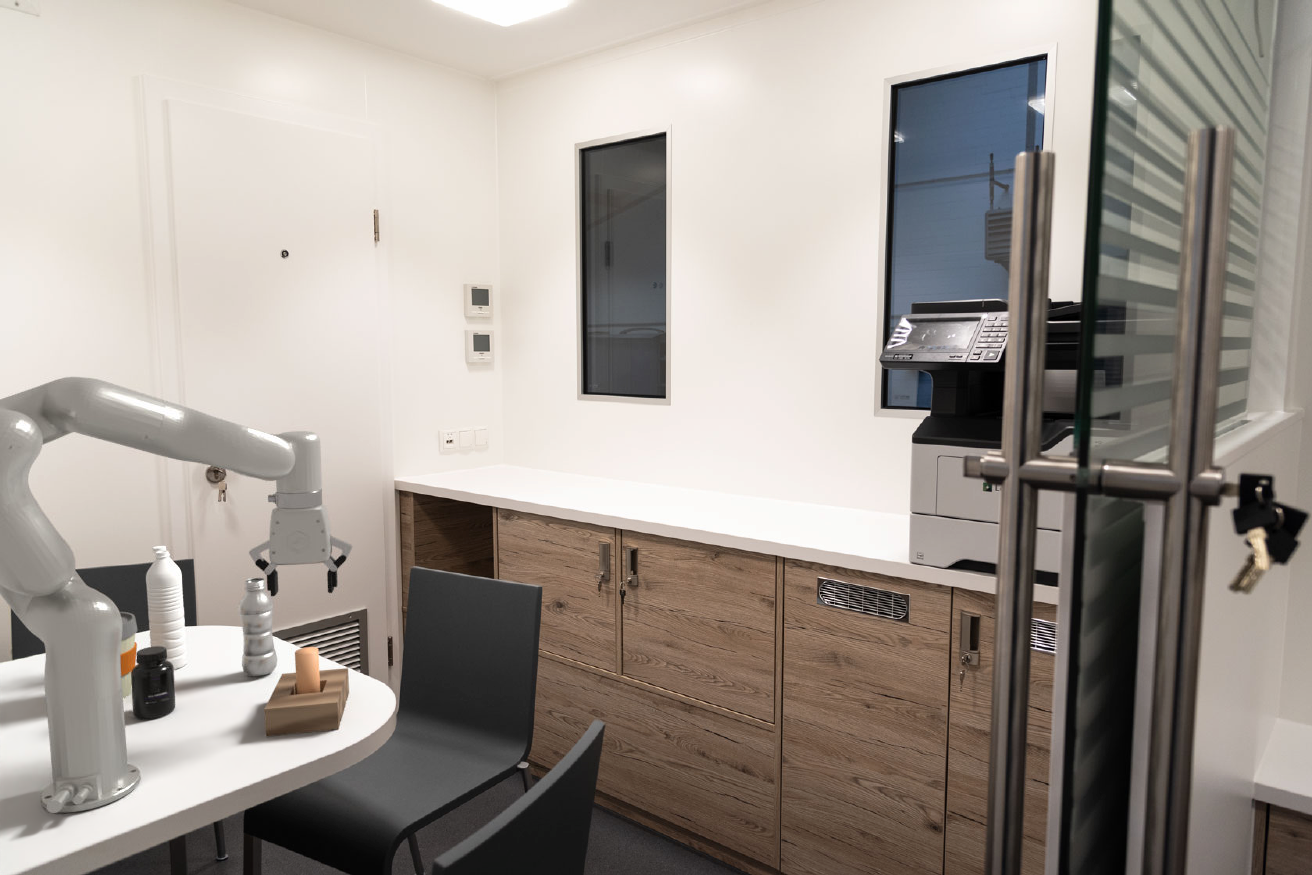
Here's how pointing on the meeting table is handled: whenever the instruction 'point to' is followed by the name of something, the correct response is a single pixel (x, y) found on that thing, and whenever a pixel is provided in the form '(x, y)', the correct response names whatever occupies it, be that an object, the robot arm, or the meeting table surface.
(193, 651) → the meeting table surface
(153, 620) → the water bottle
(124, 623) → the reusable coffee cup
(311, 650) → the peg
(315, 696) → the socket block
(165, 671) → the supplement bottle
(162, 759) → the meeting table surface
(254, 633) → the plastic bottle
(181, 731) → the meeting table surface
